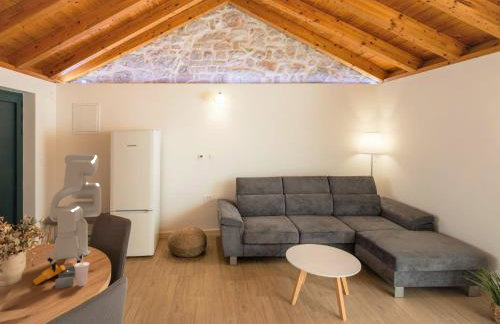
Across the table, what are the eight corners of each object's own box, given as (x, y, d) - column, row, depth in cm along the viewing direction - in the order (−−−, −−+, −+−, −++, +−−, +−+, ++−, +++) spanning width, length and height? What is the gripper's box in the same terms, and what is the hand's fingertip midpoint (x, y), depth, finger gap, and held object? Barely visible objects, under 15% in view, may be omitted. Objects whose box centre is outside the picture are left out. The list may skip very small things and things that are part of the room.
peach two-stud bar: (68, 265, 168) (68, 255, 168) (76, 264, 169) (76, 254, 169) (63, 273, 156) (63, 262, 156) (72, 272, 158) (72, 262, 158)
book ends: (59, 275, 153) (60, 267, 153) (75, 273, 156) (75, 265, 156) (55, 288, 138) (55, 280, 138) (73, 286, 141) (73, 277, 141)
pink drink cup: (78, 288, 139) (78, 258, 138) (71, 285, 142) (71, 255, 142) (92, 283, 144) (92, 254, 144) (84, 280, 148) (84, 252, 147)
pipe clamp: (52, 267, 154) (61, 261, 153) (56, 275, 153) (65, 269, 152) (31, 277, 142) (40, 270, 141) (35, 285, 142) (45, 278, 141)
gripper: (87, 231, 154) (86, 264, 154) (46, 234, 146) (46, 269, 147) (86, 234, 147) (86, 269, 148) (43, 238, 140) (43, 275, 140)
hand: (66, 269), depth 147 cm, fingers open, 9 cm apart
